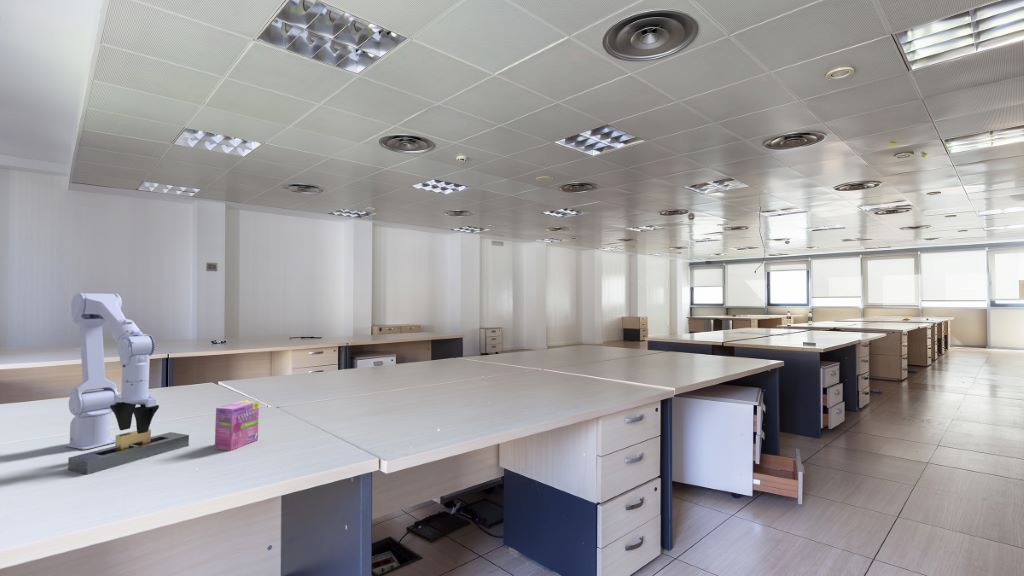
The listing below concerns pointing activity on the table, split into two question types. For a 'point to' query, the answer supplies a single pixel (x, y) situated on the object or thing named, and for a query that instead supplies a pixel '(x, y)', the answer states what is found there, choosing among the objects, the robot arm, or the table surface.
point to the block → (126, 453)
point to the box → (236, 425)
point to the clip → (131, 439)
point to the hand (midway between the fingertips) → (133, 431)
